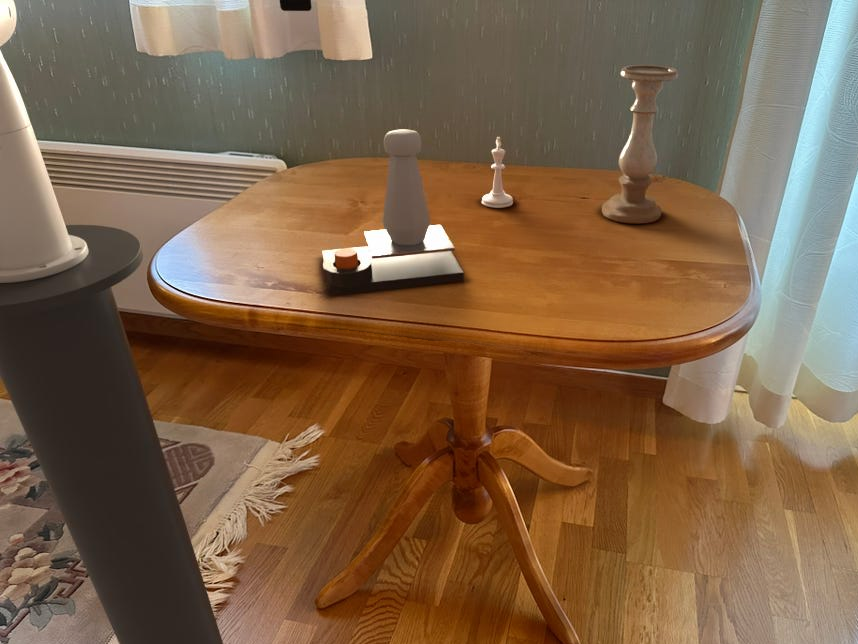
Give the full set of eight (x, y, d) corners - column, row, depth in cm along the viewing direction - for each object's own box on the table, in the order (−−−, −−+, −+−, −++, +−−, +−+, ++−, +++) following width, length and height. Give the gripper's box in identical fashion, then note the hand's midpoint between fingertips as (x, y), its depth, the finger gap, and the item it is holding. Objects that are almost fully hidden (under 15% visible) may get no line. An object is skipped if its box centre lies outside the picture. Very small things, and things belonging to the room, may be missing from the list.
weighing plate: (372, 259, 79) (371, 255, 79) (364, 234, 86) (363, 231, 86) (454, 250, 82) (454, 247, 82) (440, 227, 88) (440, 224, 88)
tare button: (336, 272, 77) (335, 257, 76) (335, 263, 79) (333, 249, 78) (359, 269, 78) (358, 255, 77) (357, 260, 80) (355, 247, 79)
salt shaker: (376, 245, 82) (367, 135, 75) (394, 228, 87) (387, 124, 80) (422, 250, 81) (417, 139, 74) (437, 233, 85) (434, 127, 79)
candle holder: (642, 229, 96) (663, 77, 86) (590, 215, 101) (604, 69, 90) (671, 213, 102) (694, 68, 91) (620, 200, 107) (637, 61, 96)
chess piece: (508, 196, 108) (510, 132, 103) (516, 206, 104) (518, 140, 99) (478, 198, 107) (478, 134, 102) (485, 208, 103) (486, 142, 98)
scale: (327, 299, 77) (324, 275, 76) (320, 259, 87) (317, 237, 85) (465, 284, 81) (465, 260, 79) (444, 247, 90) (443, 225, 89)
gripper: (239, -178, 73) (262, 0, 82) (229, -207, 59) (258, 13, 68) (310, -174, 75) (325, 1, 84) (317, -200, 60) (334, 14, 69)
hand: (295, 6), depth 76 cm, fingers open, 9 cm apart
